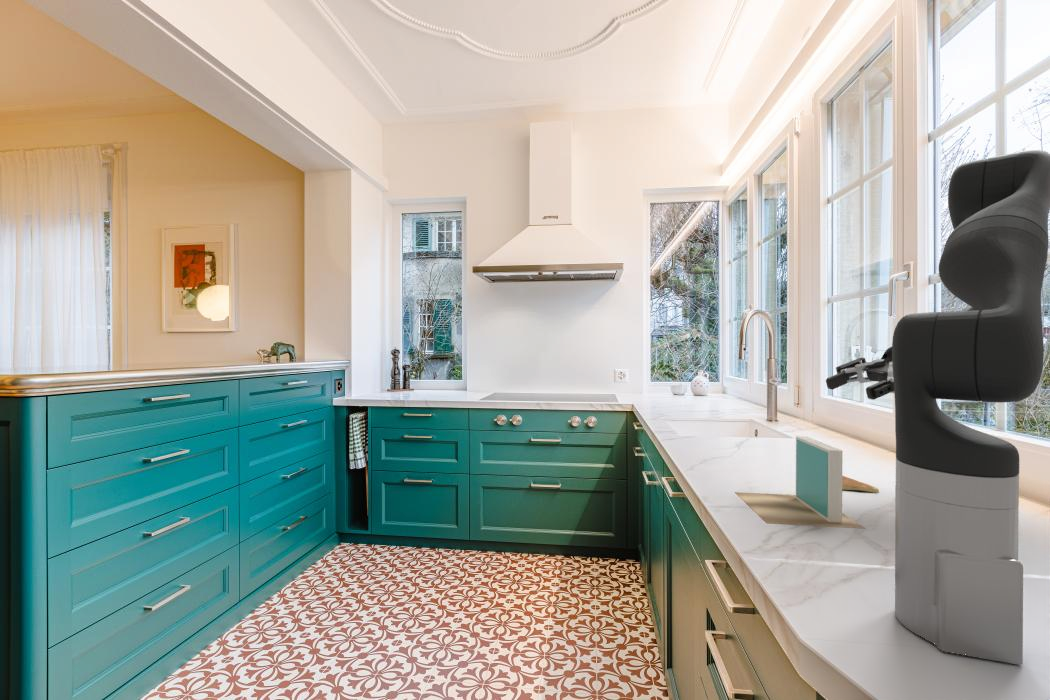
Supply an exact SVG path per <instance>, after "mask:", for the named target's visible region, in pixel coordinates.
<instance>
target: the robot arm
mask: <svg viewBox="0 0 1050 700" xmlns="http://www.w3.org/2000/svg"><path fill="white" fill-rule="evenodd" d="M947 203H948V204H947V205H948V206H947V207H948V212H949V216H950V217H949V218H950V221H951V224H952V225H951V226H952V229H953V230H952V231H951V233H950V234H949V236H948V237H947V239H946V242H945V244H944V246H943V247H944V248H943V250H942V253H941V257H940V259H939V262H938V275H939V278H940V280H941V282H942V284H943V285H944V287H945V288H946V289H947V290H948V291H949V292H950V294H952V295H953V296H955V297H956V298H957V299H959V300H960V301H962V302H964V304H967V306H966V307H964V308H963V309H962V310H957V311H956V310H955V311H951V310H950V311H935V312H934V311H933V312H932V311H930V312H916V313H910V314H909V313H908V314H905V315H904V316H902V317H901V318H900V319H899V320H898V322H897V323H896V325H895V328H894V331H893V334H892V343H891V346H890V347H888V348H886V350H885V351H884V353H883V354H882V356H881V357H880V358H879V359H874V360H872V361H869V362H868V361H866V358H865V357H859V358H856V359H853V360H851V361H848V362H846V363H844V364H841V365H839V366H837V367H835V370H836V374H834V375H831V376H830V377H827V378H826V379H825V383H826V386H827V389H828V390H835V389H837V388H840V387H842V386H844V385H846V384H847V385H848V384H849V383H854V382H858V383H861V384H865V383H871V382H876V383H874V384H872V385H869V386H867V387H866V388H865V392H866V393H865V394H866V395H867V398H868V399H869V400H876V399H878V398H881V397H884V396H886V395H888V394H890V393H891V394H894V408H895V409H894V413H895V414H894V416H895V418H894V419H895V421H894V423H895V431H894V432H895V503H894V505H895V507H894V508H895V510H894V511H895V512H894V514H895V515H894V517H895V518H894V523H895V524H894V531H895V533H894V536H895V537H894V614H895V617H896V618H897V620H898V621H899V622H900V623H901V624H902V625H903V626H904V627H905V628H906V629H908V630H909V631H911V632H912V633H914V634H915V635H917V636H918V635H919V636H918V637H920V636H921V637H920V638H922V637H923V638H922V639H924V638H925V639H924V640H926V641H928V640H929V641H928V642H930V641H931V642H933V643H935V644H936V645H937V646H938V647H939V648H940V649H941V650H942V651H941V650H940V649H939V648H938V647H937V646H936V645H935V644H934V645H935V646H936V647H937V648H938V649H939V650H940V651H941V652H943V651H946V652H945V653H948V652H954V653H958V654H957V655H959V654H964V655H963V656H965V654H966V655H969V656H968V657H971V656H972V658H977V657H978V658H979V659H982V660H983V659H985V660H990V661H996V662H1002V663H1006V664H1014V665H1018V666H1019V665H1020V666H1023V662H1024V661H1023V659H1024V655H1023V653H1024V648H1023V647H1024V644H1023V643H1024V566H1023V563H1021V562H1020V561H1019V506H1020V505H1019V504H1020V499H1019V497H1020V493H1019V492H1020V453H1019V450H1018V449H1017V447H1016V446H1015V445H1014V444H1012V443H1011V442H1009V441H1007V440H1005V439H1003V438H1000V437H997V436H994V435H991V434H987V432H986V433H985V432H982V431H979V430H977V429H975V428H972V427H969V426H967V425H965V424H963V423H961V422H959V421H957V420H956V419H954V418H952V417H951V416H949V415H947V413H945V412H944V411H943V410H942V409H941V408H940V407H939V405H938V401H937V399H938V400H948V401H949V400H952V401H953V400H954V401H966V402H967V401H968V402H980V403H981V402H982V403H1015V402H1021V401H1024V400H1026V399H1027V398H1029V397H1031V395H1032V394H1033V393H1034V392H1035V391H1036V389H1037V387H1038V385H1039V384H1040V381H1041V378H1042V373H1043V369H1044V355H1045V354H1044V353H1045V352H1044V351H1045V350H1044V348H1045V347H1044V346H1045V345H1044V332H1043V319H1042V318H1043V317H1042V315H1043V314H1042V313H1043V312H1042V291H1043V283H1044V282H1043V281H1044V277H1045V271H1046V266H1047V262H1048V256H1049V255H1048V254H1049V253H1048V252H1049V214H1050V153H1049V152H1048V151H1046V150H1039V149H1036V150H1025V151H1018V152H1014V153H1009V154H1008V153H1007V154H1004V155H1002V154H1001V155H997V156H992V157H987V158H982V159H978V160H977V159H976V160H972V161H969V162H965V163H962V164H960V165H959V166H957V167H956V168H955V169H954V171H953V172H952V174H951V176H950V180H949V182H948V189H947ZM864 373H866V377H865V376H864V375H863V374H864ZM931 642H930V643H931ZM933 643H932V644H933ZM954 653H953V654H954Z"/></svg>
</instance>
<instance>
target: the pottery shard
mask: <svg viewBox="0 0 1050 700" xmlns="http://www.w3.org/2000/svg"><path fill="white" fill-rule="evenodd" d="M842 491H861V492H869V493H873V494H879V493H880V489H879V488H878V487H875V486H873V485H870V484H868V483H865V482H861V481H858V480H856V479H853V478H851V477H848V476H844V475H842Z"/></svg>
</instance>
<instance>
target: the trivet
mask: <svg viewBox="0 0 1050 700" xmlns="http://www.w3.org/2000/svg"><path fill="white" fill-rule="evenodd" d="M734 493H735V494H736V495H737V496H738V497H739V499H741V500H742V501H743V502H744V503H745V504H746V505H747V506H748V507H749V508H751V510H752V511H753V512H755V514H756V515H758V517H760V518H761V519H762V521H764V522H765V523H766V524H776V525H792V526H810V527H812V526H813V527H815V526H816V527H831V528H832V527H833V528H848V529H850V528H851V529H865V527H864V526H862V525H861V524H860V523H858V522H856V520H854V519H852V518H850V517H848V516H847V515H845V514H844V513H843V512H842V523H840V522H828V521H827V520H826V519H824V518H823V517H821V516H820V515H819V514H817V513H816V512H814V511H813V510H812V509H810V508H809V507H807V506H806V505H805V504H803V503H802V502H800V501H799V500H797V499H796V494H783V493H781V494H779V493H755V492H738V491H737V492H734Z"/></svg>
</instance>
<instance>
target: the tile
mask: <svg viewBox="0 0 1050 700" xmlns="http://www.w3.org/2000/svg"><path fill="white" fill-rule="evenodd" d="M842 476H843V450H842V449H840V448H836V447H834V446H831V445H830V444H826V443H824V442H822V441H819V440H817V439H814V438H811V437H808V436H795V495H796V499H797V500H799V501H800V502H802V503H803V504H805V505H806V506H807V507H809V508H810V509H812V510H813V511H814V512H816V513H817V514H819V515H820V516H821V517H823V518H824V519H826V520H827V521H828V522H840V523H842V513H843V490H842Z"/></svg>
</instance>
